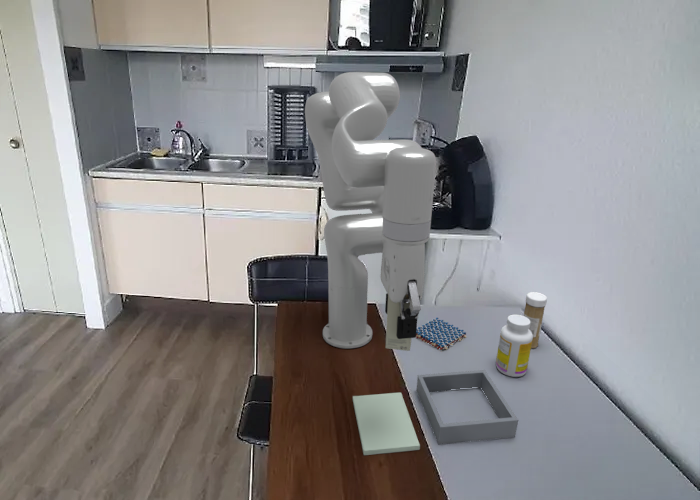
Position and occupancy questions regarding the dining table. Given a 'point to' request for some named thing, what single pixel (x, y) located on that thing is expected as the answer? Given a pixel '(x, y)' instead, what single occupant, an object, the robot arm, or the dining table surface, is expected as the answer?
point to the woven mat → (439, 333)
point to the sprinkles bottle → (535, 314)
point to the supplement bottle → (514, 346)
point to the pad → (384, 424)
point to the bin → (469, 429)
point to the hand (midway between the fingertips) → (399, 324)
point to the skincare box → (395, 327)
